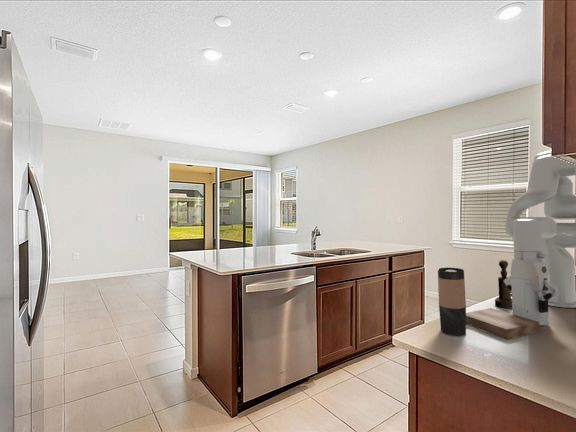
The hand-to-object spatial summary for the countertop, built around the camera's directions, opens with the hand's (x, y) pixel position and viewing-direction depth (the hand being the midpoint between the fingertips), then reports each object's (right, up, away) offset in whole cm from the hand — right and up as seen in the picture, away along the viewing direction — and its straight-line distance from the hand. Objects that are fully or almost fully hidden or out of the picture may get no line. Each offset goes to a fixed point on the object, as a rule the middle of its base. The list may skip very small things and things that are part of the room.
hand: (529, 308), depth 105 cm
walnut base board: (-12, -5, -2) cm, 13 cm away
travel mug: (-28, -6, -4) cm, 29 cm away
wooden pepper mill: (+5, -5, +18) cm, 20 cm away
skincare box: (0, -5, 0) cm, 5 cm away
